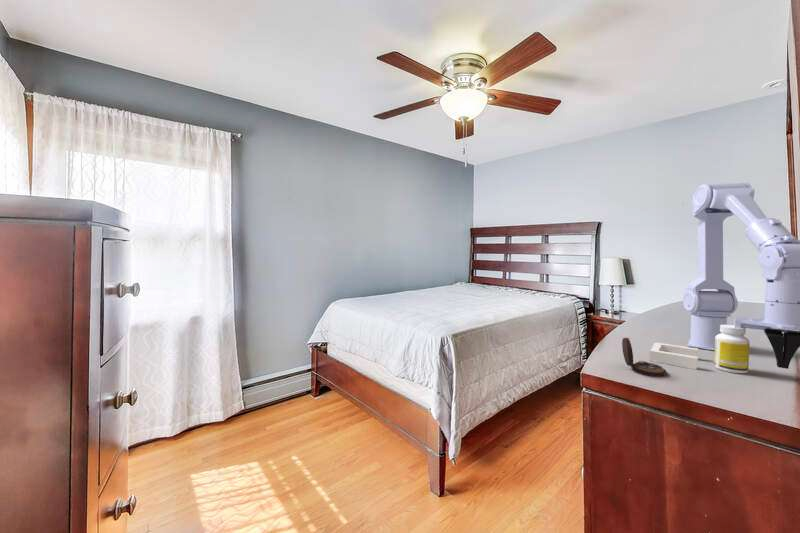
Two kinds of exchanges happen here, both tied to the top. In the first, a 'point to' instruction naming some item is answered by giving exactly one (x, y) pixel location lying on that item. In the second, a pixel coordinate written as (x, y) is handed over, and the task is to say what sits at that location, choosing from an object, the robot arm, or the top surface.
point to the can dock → (674, 355)
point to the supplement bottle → (731, 350)
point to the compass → (640, 362)
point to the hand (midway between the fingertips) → (782, 366)
